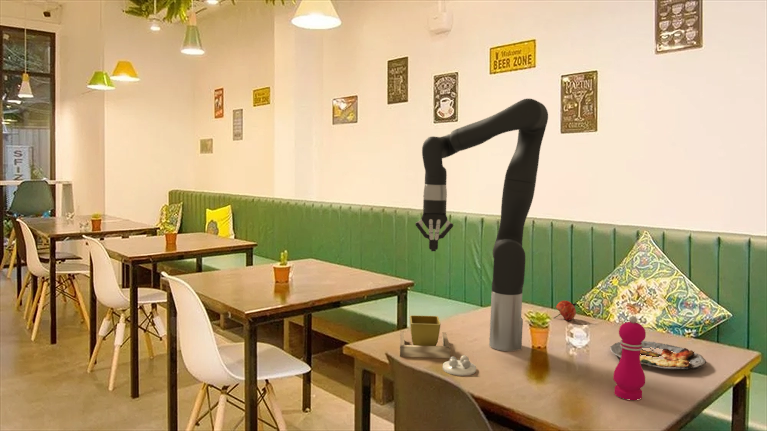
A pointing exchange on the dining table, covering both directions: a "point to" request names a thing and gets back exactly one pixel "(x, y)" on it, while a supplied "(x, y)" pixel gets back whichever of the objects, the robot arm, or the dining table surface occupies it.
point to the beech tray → (425, 349)
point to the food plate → (665, 356)
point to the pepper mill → (630, 361)
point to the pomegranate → (566, 309)
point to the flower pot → (424, 330)
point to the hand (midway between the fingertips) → (433, 250)
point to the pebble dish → (459, 366)
